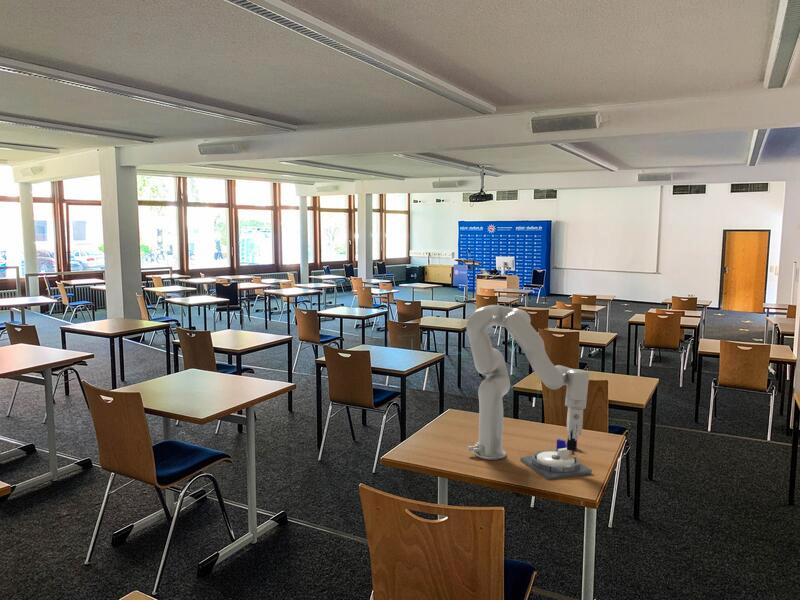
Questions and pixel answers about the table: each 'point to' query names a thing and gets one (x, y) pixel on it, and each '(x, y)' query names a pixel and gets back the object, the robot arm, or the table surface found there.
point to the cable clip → (562, 444)
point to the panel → (556, 474)
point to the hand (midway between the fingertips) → (571, 449)
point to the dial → (557, 458)
